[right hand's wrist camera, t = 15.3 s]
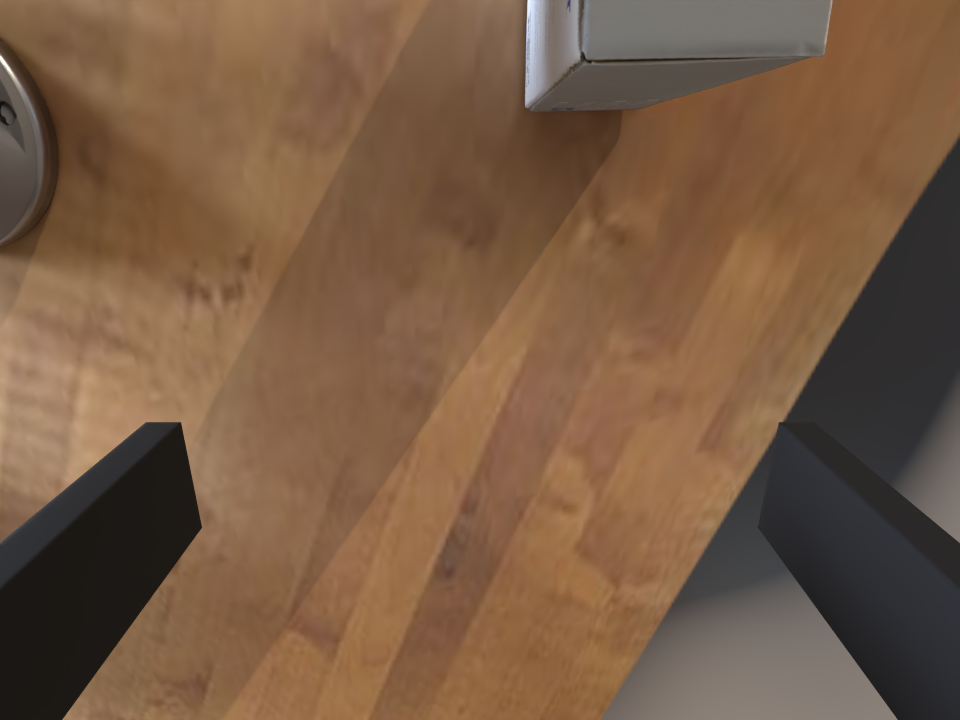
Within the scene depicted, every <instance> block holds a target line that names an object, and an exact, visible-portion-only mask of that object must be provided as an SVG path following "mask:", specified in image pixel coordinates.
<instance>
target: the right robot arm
mask: <svg viewBox="0 0 960 720" xmlns="http://www.w3.org/2000/svg"><path fill="white" fill-rule="evenodd" d="M57 175H58V148H57V140H56V135H55V130H54V126H53V123H52V119H51V116H50V113H49V111H48V108H47V106H46V103H45V101H44V99H43V97H42V94H41V92H40V90H39V88H38V87H37V85H36V83H35V82H34V80H33V78H32V77H31V75H30V73H29V72H28V71H27V69H26V68H25V66H24V65H23V63H22V62H21V61H20V60H19V59H18V57H17V56H16V55H15V54H14V52H13V51H12V50H11V49H10V48H9V47H8V46H7V45H6V44H5V43H4V42H3V41H2V40H1V39H0V247H1V246H4V245H7V244H9V243H11V242H14V241H15V240H17V239H19V238H20V237H22V236H23V235H25V234H26V233H27V232H29V231H30V230H31V229H32V228H33V227H34V226H35V225H36V224H37V223H38V221H39V220H40V219H41V217H42V216H43V215H44V213H45V211H46V210H47V208H48V206H49V204H50V201H51V199H52V197H53V193H54V190H55V186H56V181H57ZM201 528H202V525H201V520H200V515H199V510H198V505H197V500H196V495H195V490H194V485H193V480H192V475H191V470H190V465H189V460H188V455H187V450H186V445H185V440H184V435H183V430H182V425H181V422H146V423H145V424H143V425H142V426H141V427H140V428H139V429H137V430H136V431H135V432H134V433H133V434H131V435H130V436H129V437H128V438H127V439H125V440H124V441H123V442H122V443H121V444H119V445H118V446H117V447H116V448H115V449H113V450H112V451H111V452H110V453H109V454H107V455H106V456H105V457H104V458H102V459H101V460H100V461H99V462H98V463H96V464H95V465H94V466H93V467H92V468H90V469H89V470H88V471H87V472H86V473H84V474H83V475H82V476H81V477H80V478H78V479H77V480H76V481H75V482H74V483H72V484H71V485H70V486H69V487H68V488H66V489H65V490H64V491H63V492H61V493H60V494H59V495H58V496H57V497H55V498H54V499H53V500H52V501H51V502H49V503H48V504H47V505H46V506H45V507H43V508H42V509H41V510H40V511H39V512H37V513H36V514H35V515H34V516H33V517H31V518H30V519H29V520H28V521H27V522H25V523H24V524H23V525H22V526H20V527H19V528H18V529H17V530H16V531H14V532H13V533H12V534H11V535H10V536H8V537H7V538H6V539H5V540H4V541H2V542H1V543H0V720H62V719H63V718H64V716H65V715H66V714H67V712H68V711H69V710H70V708H71V707H72V705H73V704H74V703H75V701H76V700H77V699H78V697H79V696H80V694H81V693H82V692H83V690H84V689H85V688H86V686H87V685H88V683H89V682H90V681H91V679H92V678H93V677H94V675H95V674H96V672H97V671H98V670H99V668H100V667H101V666H102V664H103V663H104V661H105V660H106V659H107V657H108V656H109V655H110V653H111V652H112V650H113V649H114V648H115V646H116V645H117V644H118V642H119V641H120V639H121V638H122V637H123V635H124V634H125V633H126V631H127V630H128V628H129V627H130V626H131V624H132V623H133V622H134V620H135V619H136V617H137V616H138V615H139V613H140V612H141V611H142V609H143V608H144V606H145V605H146V604H147V602H148V601H149V600H150V598H151V597H152V595H153V594H154V593H155V591H156V590H157V589H158V587H159V586H160V584H161V583H162V582H163V580H164V579H165V578H166V576H167V575H168V573H169V572H170V571H171V569H172V568H173V567H174V565H175V564H176V562H177V561H178V560H179V558H180V557H181V556H182V554H183V553H184V552H185V550H186V549H187V547H188V546H189V545H190V543H191V542H192V541H193V539H194V538H195V536H196V535H197V534H198V532H199V531H200V530H201ZM758 528H759V530H760V531H761V532H762V534H763V535H764V536H765V538H766V539H767V541H768V542H769V543H770V545H771V546H772V547H773V549H774V550H775V551H776V553H777V554H778V556H779V557H780V558H781V560H782V561H783V562H784V564H785V565H786V567H787V568H788V569H789V571H790V572H791V573H792V575H793V576H794V578H795V579H796V580H797V582H798V583H799V584H800V586H801V587H802V589H803V590H804V591H805V593H806V594H807V595H808V597H809V598H810V600H811V601H812V602H813V604H814V605H815V606H816V608H817V609H818V611H819V612H820V613H821V615H822V616H823V617H824V619H825V620H826V622H827V623H828V624H829V626H830V627H831V628H832V630H833V631H834V633H835V634H836V635H837V637H838V638H839V639H840V641H841V642H842V644H843V645H844V646H845V648H846V649H847V650H848V652H849V653H850V655H851V656H852V657H853V659H854V660H855V661H856V663H857V664H858V666H859V667H860V668H861V670H862V671H863V672H864V674H865V675H866V677H867V678H868V679H869V681H870V682H871V683H872V685H873V686H874V688H875V689H876V690H877V692H878V693H879V694H880V696H881V697H882V699H883V700H884V701H885V703H886V704H887V705H888V707H889V708H890V710H891V711H892V712H893V714H894V715H895V716H896V718H897V719H898V720H960V543H959V542H958V541H956V540H955V539H954V538H953V537H952V536H950V535H949V534H948V533H947V532H946V531H944V530H943V529H942V528H941V527H940V526H938V525H937V524H936V523H935V522H933V521H932V520H931V519H930V518H929V517H927V516H926V515H925V514H924V513H922V512H921V511H920V510H919V509H918V508H917V507H915V506H914V505H913V504H912V503H911V502H909V501H908V500H907V499H906V498H905V497H903V496H902V495H901V494H900V493H899V492H897V491H896V490H895V489H894V488H892V487H891V486H890V485H889V484H888V483H886V482H885V481H884V480H883V479H882V478H880V477H879V476H878V475H877V474H876V473H874V472H873V471H872V470H871V469H870V468H868V467H867V466H866V465H865V464H864V463H862V462H861V461H860V460H859V459H857V458H856V457H855V456H854V455H853V454H851V453H850V452H849V451H848V450H847V449H845V448H844V447H843V446H842V445H841V444H839V443H838V442H837V441H836V440H835V439H833V438H832V437H831V436H830V435H829V434H827V433H826V432H825V431H824V430H823V429H821V428H820V427H819V426H818V425H817V424H815V423H814V422H779V425H778V430H777V435H776V440H775V445H774V450H773V455H772V460H771V465H770V470H769V475H768V480H767V485H766V490H765V496H764V500H763V505H762V510H761V515H760V520H759V525H758Z"/></svg>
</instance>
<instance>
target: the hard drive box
mask: <svg viewBox="0 0 960 720" xmlns="http://www.w3.org/2000/svg"><path fill="white" fill-rule="evenodd" d="M832 1H833V0H528V3H527V37H526V84H525V107H526V108H529V109H530V111H532V112H549V111H588V110H630V109H641V108H645V107H647V106H650V105H653V104H656V103H660V102H664V101H667V100H670V99H673V98H677V97H681V96H685V95H688V94H691V93H694V92H698V91H702V90H705V89H709V88H713V87H716V86H719V85H723V84H726V83H729V82H733V81H736V80H739V79H742V78H746V77H749V76H752V75H755V74H759V73H762V72H765V71H768V70H772V69H775V68H778V67H781V66H785V65H788V64H791V63H794V62H797V61H800V60H803V59H807V58H810V57H822V56H823V55H824V54H825V47H826V40H827V34H828V27H829V21H830V14H831V7H832Z"/></svg>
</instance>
